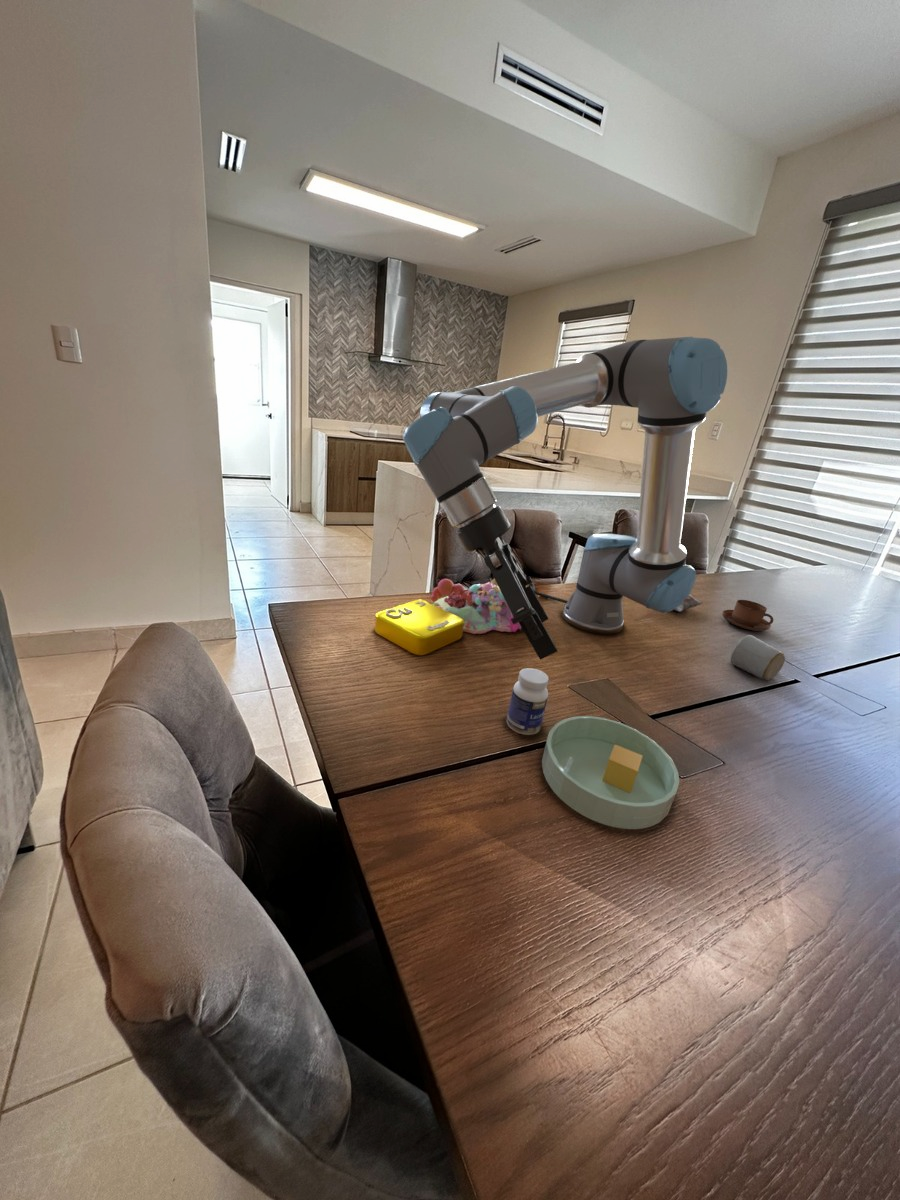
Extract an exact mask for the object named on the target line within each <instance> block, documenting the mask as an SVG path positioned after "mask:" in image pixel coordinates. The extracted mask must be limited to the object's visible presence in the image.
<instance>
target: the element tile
mask: <svg viewBox="0 0 900 1200" xmlns="http://www.w3.org/2000/svg"><path fill="white" fill-rule="evenodd" d="M374 621H375V622H374V631H375V633H376V634H377V635H379V636H381V637H382V638H384V639H386V640H388V641H389V642H392V643H393V644H395V645H397V646H398V647H400V648H402V649H403V650H406V651H407V652H409V653H411V654H413V655H415V656H425V655H428V654H430V653H432V652H435V651H436V650H439V649H441V648H443V647H445V646H448V645H449V644H452V643H455V642H456V641H459V640H460V639H462V637H463V633H464V631H463V626H464V620H463V619H462V618H460V617H458V616H456V615H454V614H452V613H450V612H447V611H445V610H443V609H441V608H439V607H437V606H434V605H432V603H430V602H429V601H426V600H423V599H415V600H412V601H408V602H405V603H402V604H399V605H396V606H393V607H390V608H386V609H383V610H380V611H378V612H377V613H376V614H375V620H374Z"/></svg>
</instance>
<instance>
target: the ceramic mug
mask: <svg viewBox="0 0 900 1200" xmlns="http://www.w3.org/2000/svg"><path fill="white" fill-rule="evenodd" d="M785 663H786V656H785V654H784V653H783V652H782V651H781V650H780V649H778V648H776V647H774V646H772V645H771V644H768V643H766V642H764V641H763V640H761V639H759V638H757V637H755V636H754V635H751V634H748V635H746V636H744V637H742V638H741V639H740V640H739V642H738V643H737V644H736V645H735V647H734V648H733V651H732V653H731V655H730V664H732V665H733V666H736V667H737V668H739V669H741V670H743V671H745V672H747V673H749V674H751V675H753V676H755V677H757V678H759V679H762V680H765V681H769V680H771V679H774V678H775V677H776V676H777V675H778V674H779V673H780V671H781V670H782V668H783V666H784V664H785Z"/></svg>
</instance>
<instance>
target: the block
mask: <svg viewBox="0 0 900 1200" xmlns="http://www.w3.org/2000/svg"><path fill="white" fill-rule="evenodd" d="M642 757H643V756H642V755H640V754H637V753H635V752H633V751H630V750H628V749H625V748H623V747H620V746H618V745H616V744H615V745H614V748H613V750H612V753H611V755H610V758H609V761H608V764H607V767H606V770H605V773H604V777H603V780H602V781H604V782H606V783H608V784H610V785H613V786H615V787H617V788H619V789H622V790H624V791H626V792H628V793H631V791H632V788H633V785H634V782H635V779H636V776H637V773H638V770H639V767H640V764H641V760H642Z"/></svg>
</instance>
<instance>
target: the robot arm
mask: <svg viewBox="0 0 900 1200" xmlns="http://www.w3.org/2000/svg"><path fill="white" fill-rule="evenodd" d="M727 380H728V361H727V357H726V354H725V351H724V350H723V348H721V346H720V344H719V343H718V342H717V341H715V340H714V339H712V338H708V337H696V336H695V337H694V336H682V337H681V336H680V337H667V338H655V339H654V338H653V339H635V340H631V341H626V342H622V343H620V344H616V345H613V346H609V347H607V348H603V349H599V350H597V351H593V352H589V353H585V354H582V355H581V356H580V357H579V358H577V359H576V361H575V362H573V363H569V364H565V365H560V366H555V367H552V368H547V369H543V370H540V371H536V372H530V373H527V374H522V375H519V376H515V377H510V378H506V379H502V380H498V381H494V382H489V383H486V384H481V385H477V386H473V387H470V388H465V389H460V390H457V391H451V392H449V391H447V390H443V391H439V392H438V391H437V392H433V393H431V394H429V395H428V396H427V397H426V398H425V399H424V400H423V402H422V404H421V407H420V410H419V417H418V418H417V419H416V420H414V421H413V422H412V423H411V424H409V425H408V426H407V427H406V429H405V430H404V432H403V434H402V438H403V439H402V440H403V442H404V444H405V447H406V449H407V451H408V453H409V455H410V458H411V459H412V461H413V464H414V465H415V466H416V468H417V469H418V471H419V473H420V474H421V476H422V477H423V479H424V481H425V482H426V484H427V486H428V487H429V489H430V491H431V492H432V494H433V496H434V497H435V499H436V501H437V502H438V504H439V505H440V508H442V509H440V511H439V514H440V516H441V517H446V516H447V520H448V521H449V523H450V525H451V527H457V529H456V532H455V534H456V537H458V539H459V541H460V542H461V545H462V546H463V548H464V549H465V551H467V552H475V551H477V550H479V549H483V553H484V554H485V555H484V556H483V560H484V563H485V565H486V566H487V568H488V570H490V572H491V575H492V576H493V579H495V580H496V582H497V584H498V586H499V588H500V590H501V592H502V594H503V596H504V599H505V601H506V603H507V605H508V607H509V609H510V611H511V613H512V615H513V618H512V619H511V621H512V623H513V624H516V623H518V622H519V624H520V625H521V627H522V628H521V630H522V632H523V633H524V634H525V636H526V638H527V640H528V641H529V643H530V644H531V646H532V648H533V650H534V652H535V653H536V654H537V657H538V659H539V660H540V661H541V660H543V659H545V658H548V657H549V656H552V655H553V654H555V653H558V651H559V650H558V648H557V646H556V644H555V642H554V641H553V639H552V637H551V636H550V634H549V633H548V630H547V629H546V627H545V625H544V622H546V621H548V620H549V616H548V615H547V613H546V611H545V609H544V608H543V605H542V604H541V602H540V600H539V598H538V599H537V597H536V595H539V597H543V598H546V599H549V600H552V601H556V602H560V603H563V604H564V606H563V610H562V614H561V616H562V619H564V621H565V622H567V623H568V624H569V625H571V626H572V627H575V628H577V629H579V630H582V631H584V632H589V633H594V634H598V635H599V634H600V635H611V634H612V635H613V634H617V633H619V632H621V631H622V629H623V625H624V621H625V620H624V609H623V607H624V606H623V597H625V598H627V599H629V600H631V601H633V602H634V603H638V604H640V605H642V606H644V607H645V608H646V609H649V610H653V611H655V612H657V613H662V614H663V613H664V614H665V613H670V612H672V611H674V609H675V608H677V607H678V606H679V605H680V604H681V603H682V602H683V601H684V600H685V599H686V597H687V596H688V595H689V593H690V594H691V592H692V590H693V588H694V585H695V583H696V581H697V571H696V570H695V568H694V567H693V566H692V565H690V564H686V563H687V555H688V552H687V548H686V547H685V546H684V545H683V544H681V541H682V540H681V539H682V532H683V526H684V518H685V516H684V515H685V509H686V501H687V493H688V487H689V478H690V471H691V463H692V457H693V455H692V454H693V450H694V449H693V448H694V440H695V433H696V428H698V427H699V426H700V425H701V424H702V423H704V422H705V421H706V418H707V413H708V412H709V413H710V412H711V411H712V410H713V409H714V408H716V406H717V405H718V404H719V403H720V401H721V399H722V397H721V395H723V394H724V393H725V390H726V387H727ZM579 406H582V407H584V408H588V409H590V408H595V407H598V406H620V407H629V408H637V424H638V425H639V426H640V427H641V428H642V430H644V442H643V455H642V469H641V481H640V495H639V508H638V520H637V533H636V537H635V536H631V535H626V534H625V535H624V534H618V533H617V534H616V533H594V534H592V535H590V536H589V537H588V538H587V540H586V543H585V546H584V549H583V553H582V559H581V562H580V567H579V572H578V577H577V580H576V585H575V589H574V591H573V592H572V594H571V595H570V597H569V598H568V599H564V598H560V597H557V596H554V595H553V596H552V595H550V594H546V593H543V592H540V591H538V590H536V585H535V584H534V582H533V579H532V577H531V576H527V575H526V573H524V571H523V570H522V568H521V567H520V565H519V564H518V561H517V559H516V557H515V554H514V553H513V550H512V548H511V545H509V543H508V542H507V543H506V541H504V537H503V535H504V534H506V533H507V532H508V531H509V530H510V529H511V522H510V521H509V518H508V516H507V515H506V514H505V511H504V510H503V508H502V506H499V505H496V503H497V502H498V498H497V496H496V495H495V493H494V491H493V489H492V487H491V485H490V484H489V482H488V480H487V478H486V477H485V476H484V473H483V472H482V469H481V468H480V466H482V465H483V464H485V463H486V462H487V461H490V460H491V459H493V458H495V457H496V456H498V455H500V454H502V453H503V452H505V451H506V450H508V449H510V448H512V447H514V446H515V445H519V444H520V443H521V442H522V441H523V440H525V438H527V437H529V436H530V435H532V434H533V433H534V432H535V430H536V428H537V427H538V423H539V417H544V416H546V415H551V414H554V413H557V412H561V411H564V410H567V409H571V408H575V407H579ZM526 585H529V586H526ZM531 587H532V588H531ZM521 608H524V609H522V610H520V611H518V610H519V609H521Z"/></svg>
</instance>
